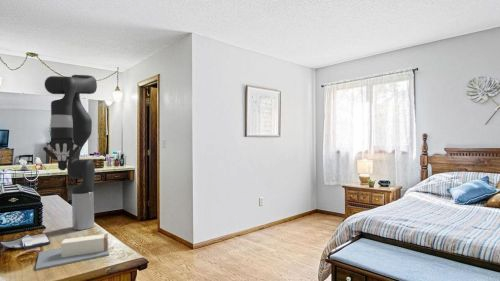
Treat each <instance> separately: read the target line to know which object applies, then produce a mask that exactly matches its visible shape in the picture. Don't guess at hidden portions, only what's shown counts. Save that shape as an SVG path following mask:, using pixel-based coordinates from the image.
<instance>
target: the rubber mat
mask: <svg viewBox="0 0 500 281" xmlns="http://www.w3.org/2000/svg"><path fill="white" fill-rule="evenodd" d="M109 255H110V253H109V250H108V251H101V252H95V253H88V254H81V255H74V256H67V257H61V247H60V248H54V249H47V250H43V251H39V252H38V256H37V261H36V265H35V271H39V270H44V269H49V268H54V267H58V266H64V265H68V264H73V263H74V264H75V263H78V262H84V261H88V260H93V259H97V258H103V257H107V256H109Z"/></svg>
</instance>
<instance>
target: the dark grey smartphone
mask: <svg viewBox="0 0 500 281" xmlns="http://www.w3.org/2000/svg"><path fill="white" fill-rule="evenodd" d="M29 236H30V237H31V238H33V240H32V241H31V242H29V243H28V242H25V243H24V247H23V249H24V250H32V249H35V248H39V247H45V246H50V245H51V240H50V238H49V237H48V235H47V234H46V233H39V234H35V235H29ZM24 237H25V236H24ZM24 237H22V238H24Z"/></svg>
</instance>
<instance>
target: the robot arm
mask: <svg viewBox="0 0 500 281" xmlns="http://www.w3.org/2000/svg"><path fill="white" fill-rule="evenodd" d="M97 83H98V82H97V79H96V77H95V76H93V75H88V74H73V75H71V76H61V75H59V76H58V75H57V76H55V75H52V76H49V77H47V78H46V79H45V80H44V89H45V91H47V92H48V93H50V94H52V95H63V97H62V98H60V99H54V100H52V101H51V103H50V121H49V122H50V124H49V126H50V141H49V143H48V144H47V145H46V146H44V147H43V148H42V150H43V151H44V152H45V153H46V154H47V155H48V156H49V157H50V158H51V159H52V160H54V161H57V166H58V167H57V168H58V170H60V171H67V176H68V178H70V179H78V180H79V179H82V182H81V183H80V184H78V185H75V186H73V187H72V188H71V214H72V218H71V219H72V224H71V226H72V230H75V231H82V230H84V231H85V230H88V229H91V228H93V227H94V226H95V207H94V206H95V204H94V203H95V202H94V201H95V196H94V187H95V174H96V172H95V163H94V161H93V160H92V159H80V156H81V151H82V150H83V147H84V145H85V144H86V143H87V142H88V141H89V138H90V137H91V136H92V131H93V130H92V128H93V127H92V125H93V122H92V118H91V115H90V114H89V112H87V110H86V109H85V107H84V106H83V103H82V102H81V96H80V95H92V94H95V93H96V91H97V88H98V84H97ZM52 149H53V150H54V152H56V154H55V153H54V152H53V151H52ZM66 169H67V170H66Z"/></svg>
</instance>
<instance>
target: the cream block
mask: <svg viewBox="0 0 500 281" xmlns="http://www.w3.org/2000/svg"><path fill="white" fill-rule="evenodd" d="M60 248H61V257H67V256H74V255H81V254H88V253H95V252H101V251H108V252H109V233H103V234H102V233H101V234H93V235H86V236H79V237H71V238H70V237H69V238H64V239H63V240H62V242H61V243H60Z"/></svg>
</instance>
